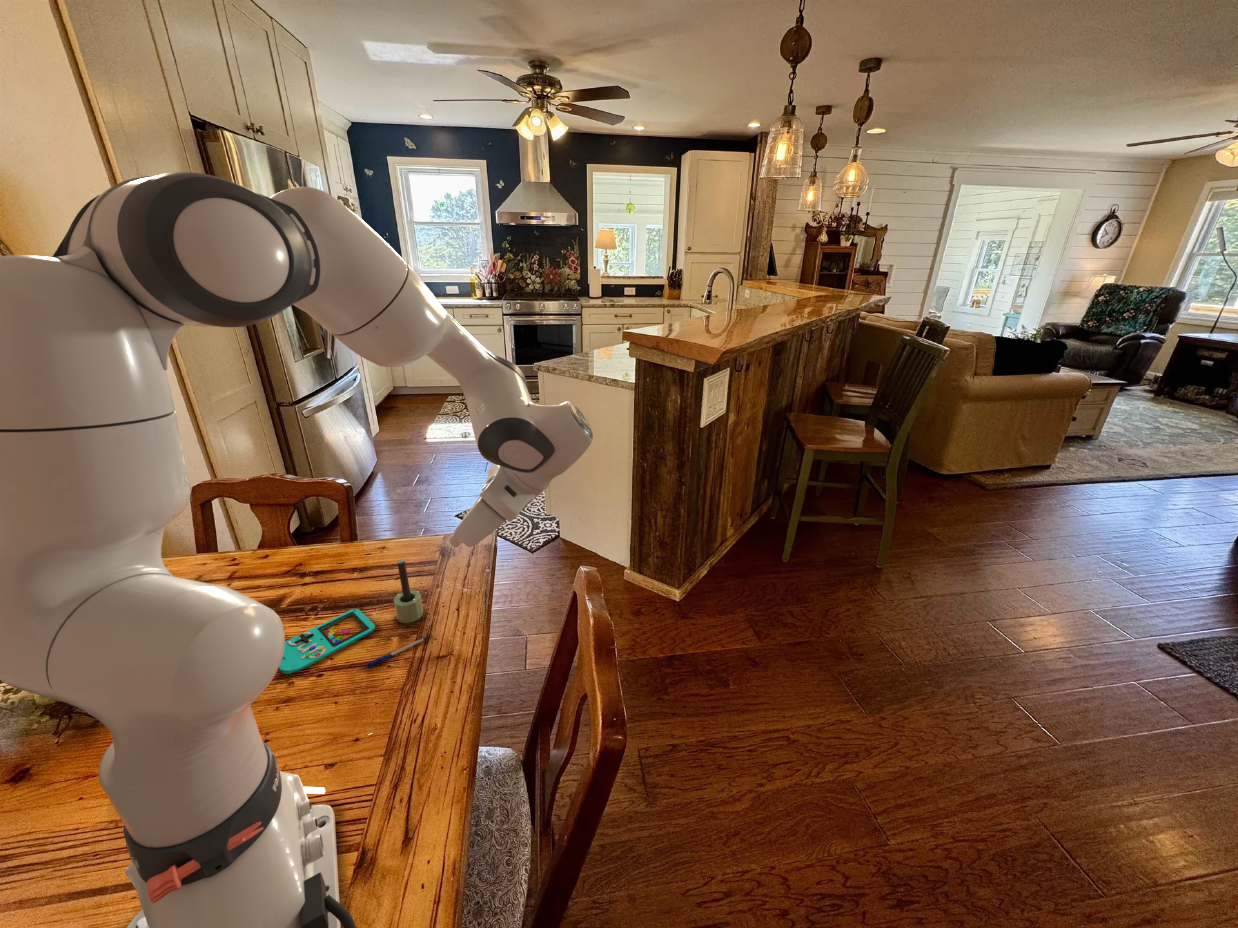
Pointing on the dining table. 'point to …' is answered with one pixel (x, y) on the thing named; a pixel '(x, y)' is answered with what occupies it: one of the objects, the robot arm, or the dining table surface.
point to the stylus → (404, 580)
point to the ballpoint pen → (393, 653)
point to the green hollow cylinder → (408, 607)
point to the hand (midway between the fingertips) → (463, 528)
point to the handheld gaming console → (320, 643)
